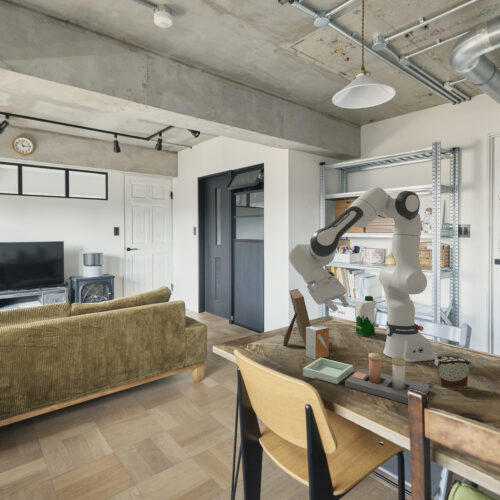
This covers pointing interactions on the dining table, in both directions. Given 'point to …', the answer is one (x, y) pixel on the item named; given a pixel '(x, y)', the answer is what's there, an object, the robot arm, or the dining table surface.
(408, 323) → the robot arm
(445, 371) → the food container
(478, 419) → the dining table surface
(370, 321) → the milk carton
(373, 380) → the marked fuse
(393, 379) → the cylinder
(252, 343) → the dining table surface
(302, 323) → the photo frame
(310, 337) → the small box
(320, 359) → the tray
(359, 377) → the block
